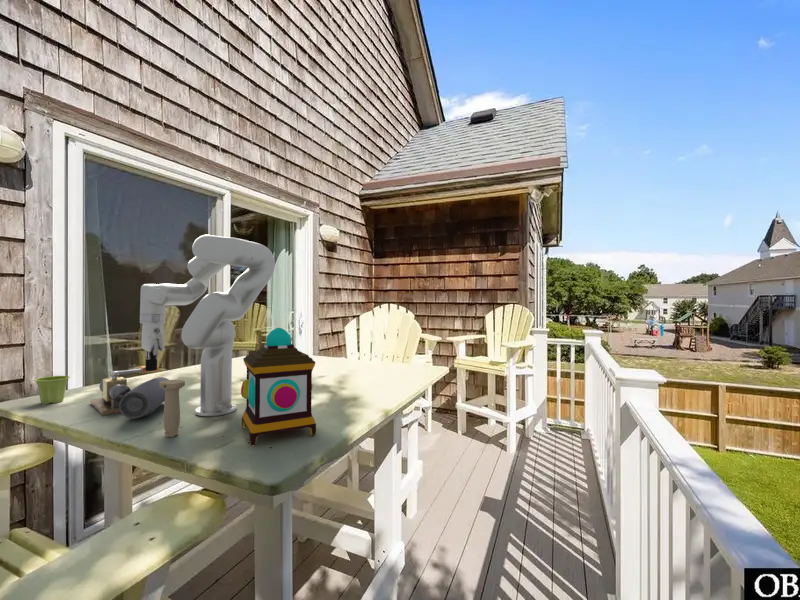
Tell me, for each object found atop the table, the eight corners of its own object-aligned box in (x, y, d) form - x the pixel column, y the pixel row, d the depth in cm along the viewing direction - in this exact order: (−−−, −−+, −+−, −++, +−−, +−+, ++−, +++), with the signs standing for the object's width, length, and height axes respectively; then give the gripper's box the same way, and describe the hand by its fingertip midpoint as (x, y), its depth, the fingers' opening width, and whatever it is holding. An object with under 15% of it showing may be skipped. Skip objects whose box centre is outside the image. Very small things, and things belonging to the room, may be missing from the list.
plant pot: (53, 398, 145) (53, 375, 145) (76, 399, 144) (76, 375, 144) (27, 404, 135) (27, 380, 135) (51, 405, 134) (51, 381, 134)
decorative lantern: (322, 437, 107) (323, 329, 106) (246, 450, 97) (247, 331, 97) (302, 417, 124) (303, 324, 124) (236, 427, 114) (237, 326, 114)
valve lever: (111, 376, 132) (111, 370, 132) (109, 374, 134) (109, 369, 134) (158, 370, 143) (158, 365, 143) (156, 369, 145) (156, 364, 145)
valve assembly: (146, 407, 133) (146, 377, 133) (103, 415, 124) (103, 382, 124) (130, 397, 146) (131, 369, 146) (90, 403, 137) (91, 373, 137)
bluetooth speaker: (145, 403, 138) (146, 375, 138) (174, 402, 140) (174, 375, 140) (115, 423, 116) (116, 390, 116) (150, 421, 118) (151, 389, 118)
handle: (174, 440, 103) (175, 384, 103) (154, 437, 105) (155, 382, 105) (188, 433, 108) (188, 380, 108) (168, 432, 109) (169, 379, 109)
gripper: (171, 319, 134) (170, 372, 134) (158, 317, 144) (156, 366, 144) (146, 320, 128) (144, 375, 129) (134, 317, 139) (132, 368, 139)
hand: (151, 370), depth 136 cm, fingers closed
